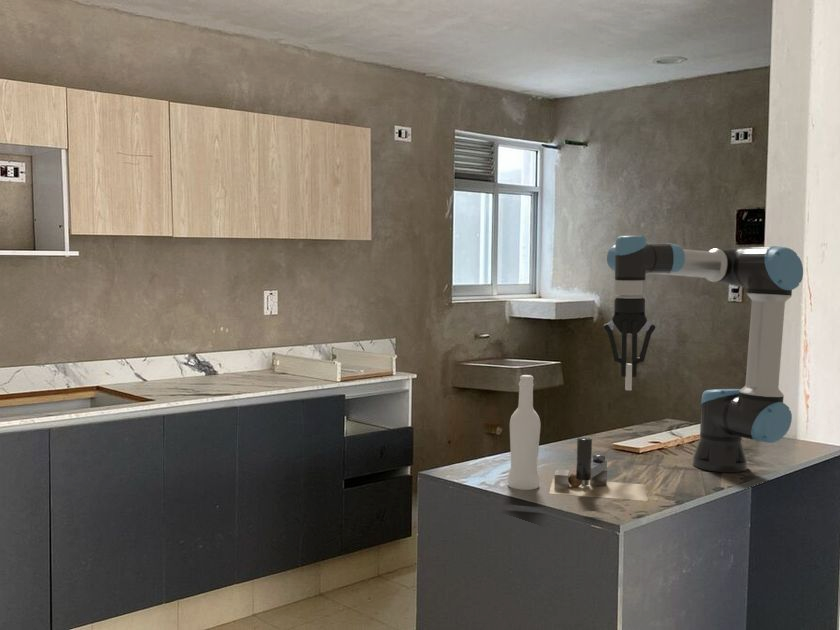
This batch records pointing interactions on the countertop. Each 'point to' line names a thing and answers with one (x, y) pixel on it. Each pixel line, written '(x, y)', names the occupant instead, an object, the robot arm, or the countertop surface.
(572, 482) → the brown ball
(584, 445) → the lever
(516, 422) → the bottle
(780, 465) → the countertop surface
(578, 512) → the countertop surface
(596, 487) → the board
